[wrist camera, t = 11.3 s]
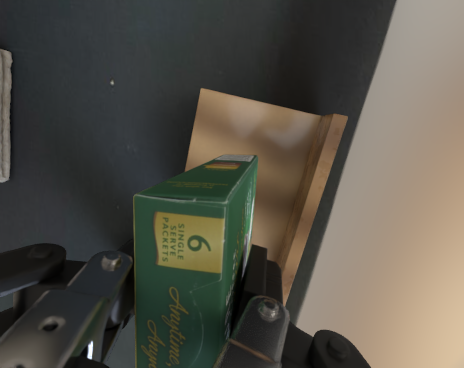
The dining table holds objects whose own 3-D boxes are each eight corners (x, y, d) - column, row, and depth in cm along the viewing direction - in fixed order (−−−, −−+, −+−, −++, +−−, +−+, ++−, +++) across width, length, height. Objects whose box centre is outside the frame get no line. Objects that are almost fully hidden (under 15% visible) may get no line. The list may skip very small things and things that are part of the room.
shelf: (216, 96, 31) (182, 77, 19) (318, 120, 30) (348, 116, 18) (190, 220, 35) (148, 268, 23) (279, 246, 34) (283, 310, 22)
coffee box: (221, 147, 19) (121, 191, 7) (260, 151, 19) (234, 203, 6) (215, 249, 21) (128, 434, 8) (251, 253, 21) (217, 455, 8)
